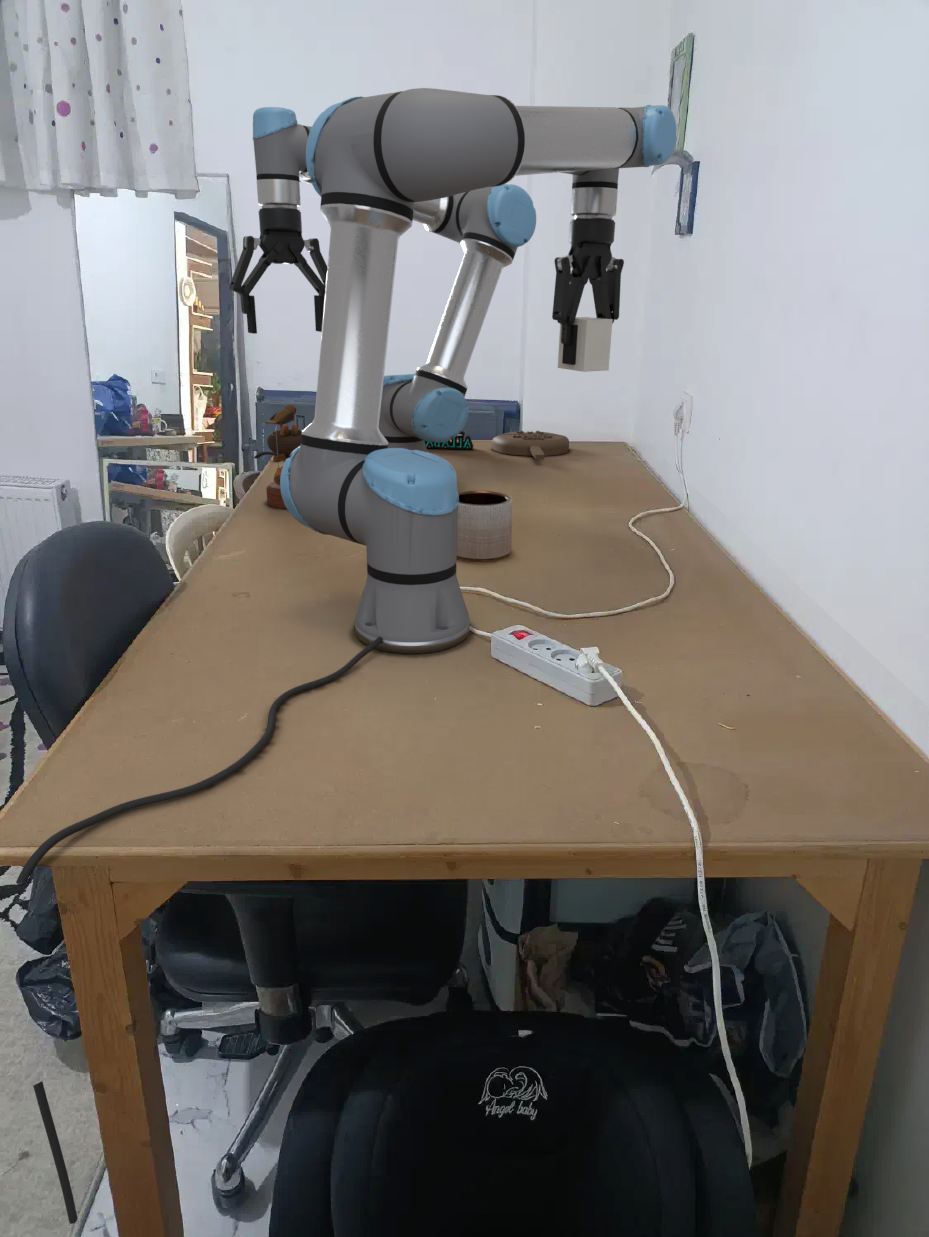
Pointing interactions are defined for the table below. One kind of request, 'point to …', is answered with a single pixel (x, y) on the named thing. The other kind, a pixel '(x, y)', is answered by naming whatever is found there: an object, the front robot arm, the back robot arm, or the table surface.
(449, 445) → the decorative sign
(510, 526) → the planter
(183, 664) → the table surface
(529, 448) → the ice cream bar
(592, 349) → the brick
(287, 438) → the music box
